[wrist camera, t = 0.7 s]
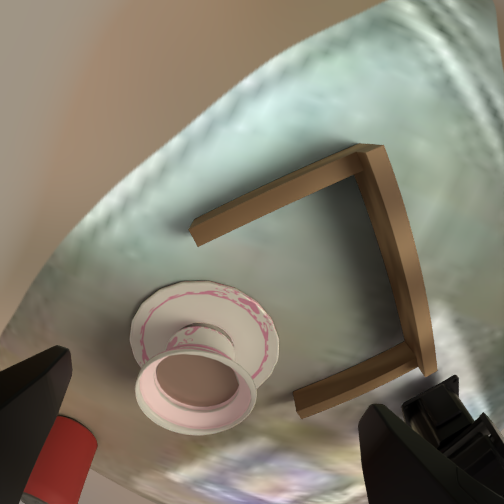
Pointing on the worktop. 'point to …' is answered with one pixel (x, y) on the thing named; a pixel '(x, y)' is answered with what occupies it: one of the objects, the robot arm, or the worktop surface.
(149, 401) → the teacup
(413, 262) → the open wooden frame
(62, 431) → the beer can
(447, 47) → the worktop surface
